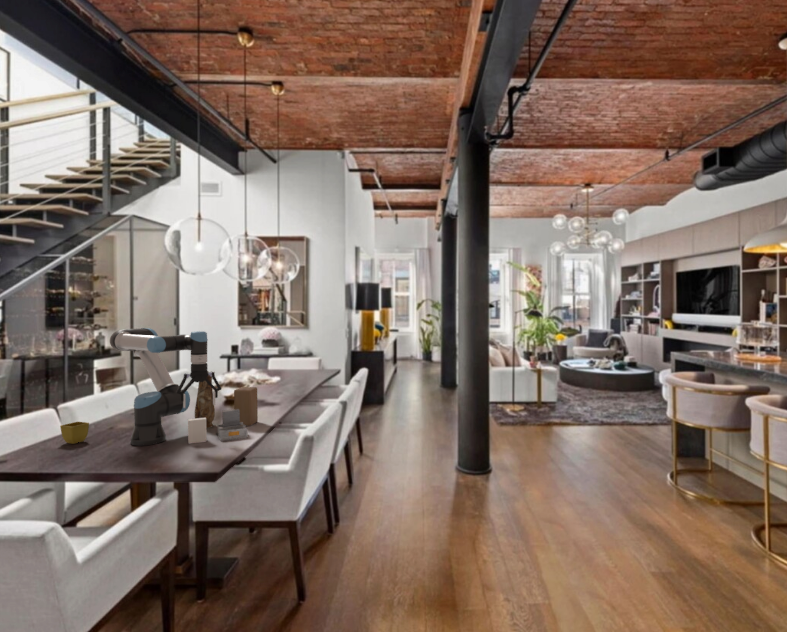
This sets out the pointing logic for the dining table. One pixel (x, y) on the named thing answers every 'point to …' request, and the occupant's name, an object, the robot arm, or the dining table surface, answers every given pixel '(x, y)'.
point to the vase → (205, 402)
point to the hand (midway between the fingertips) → (199, 406)
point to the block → (246, 404)
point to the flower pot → (74, 432)
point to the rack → (231, 426)
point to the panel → (197, 430)
